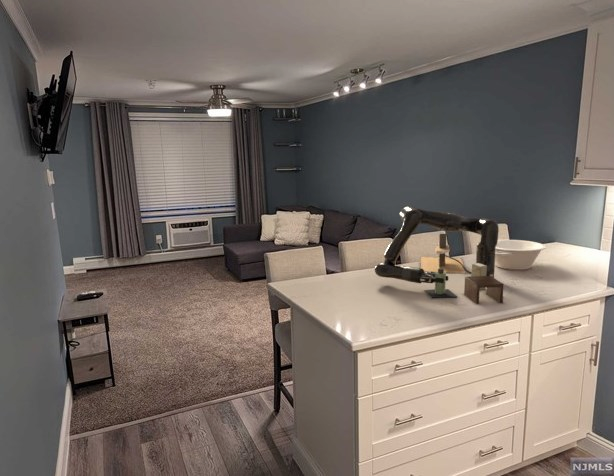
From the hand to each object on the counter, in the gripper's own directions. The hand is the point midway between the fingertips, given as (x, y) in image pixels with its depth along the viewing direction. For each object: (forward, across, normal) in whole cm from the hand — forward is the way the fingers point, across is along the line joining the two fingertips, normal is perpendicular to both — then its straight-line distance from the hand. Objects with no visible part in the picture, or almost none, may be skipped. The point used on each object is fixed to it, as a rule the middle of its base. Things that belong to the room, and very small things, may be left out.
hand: (445, 279), depth 205 cm
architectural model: (-24, +59, +8) cm, 64 cm away
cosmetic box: (+9, +20, +8) cm, 24 cm away
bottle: (-3, 0, +7) cm, 7 cm away
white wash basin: (+13, +75, +8) cm, 77 cm away
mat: (-3, 0, +8) cm, 8 cm away
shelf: (+16, +4, +8) cm, 18 cm away
